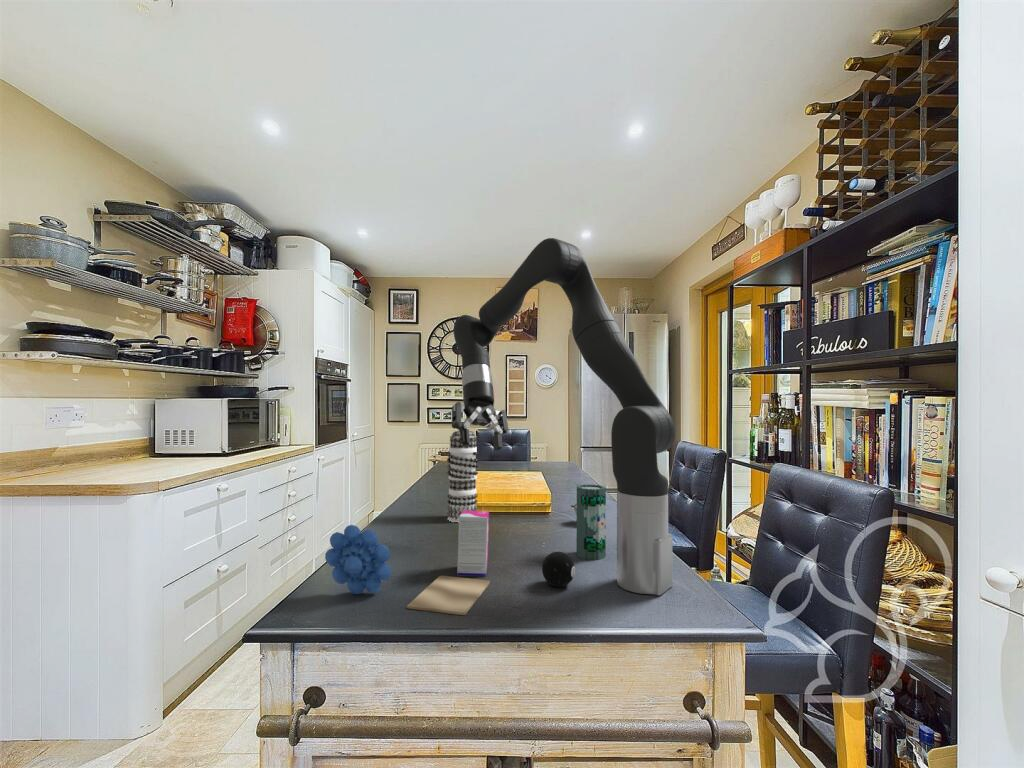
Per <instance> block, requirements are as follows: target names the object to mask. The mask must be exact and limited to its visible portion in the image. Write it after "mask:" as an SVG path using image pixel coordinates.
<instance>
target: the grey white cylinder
mask: <svg viewBox="0 0 1024 768" xmlns="http://www.w3.org/2000/svg"><path fill="white" fill-rule="evenodd" d="M449 438H450V439H449V451H448V452H446V453H447V454H446V456H447V457H448V458H447V459H446V461H447V462H448V465H447V467H446V468H447V469H448V470H447V472H446V473H447V475H448V477H447V478H448V480H449V487H448V495H447V498H448V500H447V504H448V506H447V512H446V514H447V516H448V517H447V521H448V520H449V522H450V521H451V522H450V523H454V522H458V523H457V524H459V516H460V514H461V513H462V511H463V510H465V511H478V506H477V503H478V500H477V497H479V496H478V494H477V486H476V485H477V481H476V480H477V479H478V474H479V472H478V471H477V470H476V469H477V468H479V464H477V463H478V462H480V461H479V459H478V458H477V457H476V456H479V454H480V452H478V451H477V449H478V447H477V438H478V436H477V435H475V433H474V431H470V430H469V438H470V444H469V445H468V446H467V447H463V444H461V441H460V440H461V439H460V431H459V430H455V431H453V432H452V434H451V435H450V436H449Z"/></svg>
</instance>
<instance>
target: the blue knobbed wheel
mask: <svg viewBox="0 0 1024 768" xmlns="http://www.w3.org/2000/svg"><path fill="white" fill-rule="evenodd" d="M329 544H330V546H331V548H329V549H327V551H326V552H325V555H324V557H325V558H324V559H325V562H326V563H327V564H328V565H329V566H331V567H334V568H333V569H332V571H331V577H332V579H333V582H336V583H337V584H341V585H344V584H346V583H347V585H346V586H347V588H348V591H349V592H350V593H352V594H353V595H360V594H362V593H364V591H365V590H366V591H368V593H370V594H375V593H377V592H380V590H381V588H382V581H386V580H388V579H390V578H391V576H392V568H391V567H390V565H389V564H388V563H386V562H388V561H389V559H390V558H391V555H390V553H391V550H390V549H389V548H388V547H387V545H384V544H383V543H382V544H380V543H379V537H378V534H377V532H375V531H374V530H372V529H365V530H363V531H361V530H360V528H359V527H358V526H356V525H354V524H350V525H347V526H346V527H345V528H344V530H343V533H342V532H339V531H338V532H337V531H336V532H334V533H332V535H331V536H330V538H329Z"/></svg>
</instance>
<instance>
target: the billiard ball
mask: <svg viewBox="0 0 1024 768" xmlns="http://www.w3.org/2000/svg"><path fill="white" fill-rule="evenodd" d="M575 567H576V566H575V562H574V560H573V558H572V557H571V556H570V555H569V554H567V553H566V552H564V551H553V552H550V553H548V554H547V555H546V556H545V557H544V559H543V561H542V565H541V571H542V576H543V578H544V580H545V581H546V582H547V583H548V584H550V585H551V586H554V587H564V586H567V585H569V584H570V583H571V582H572V581H573V579H574V576H575V571H576V568H575Z"/></svg>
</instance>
